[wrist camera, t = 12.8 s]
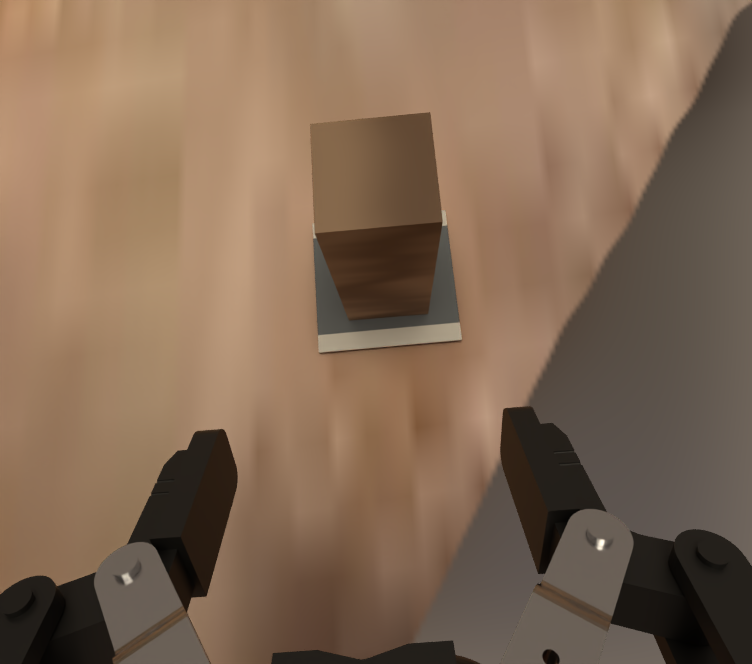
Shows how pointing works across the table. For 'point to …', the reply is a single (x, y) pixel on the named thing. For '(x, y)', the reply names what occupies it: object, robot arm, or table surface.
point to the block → (378, 212)
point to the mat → (389, 330)
